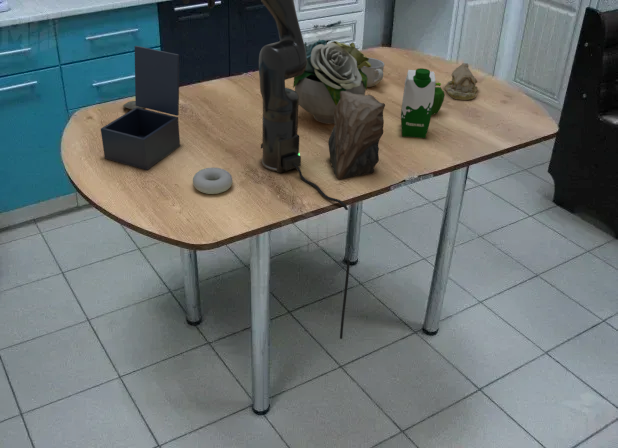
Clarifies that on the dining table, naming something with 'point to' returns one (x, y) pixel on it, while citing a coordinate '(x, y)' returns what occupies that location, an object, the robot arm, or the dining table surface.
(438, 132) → the dining table surface
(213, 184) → the donut
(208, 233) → the dining table surface
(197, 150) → the dining table surface
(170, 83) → the lid
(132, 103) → the soupspoon
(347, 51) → the flower arrangement
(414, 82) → the milk carton
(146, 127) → the chest
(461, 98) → the ceramic model
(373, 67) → the teacup
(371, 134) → the brown rough block
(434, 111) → the bell pepper
